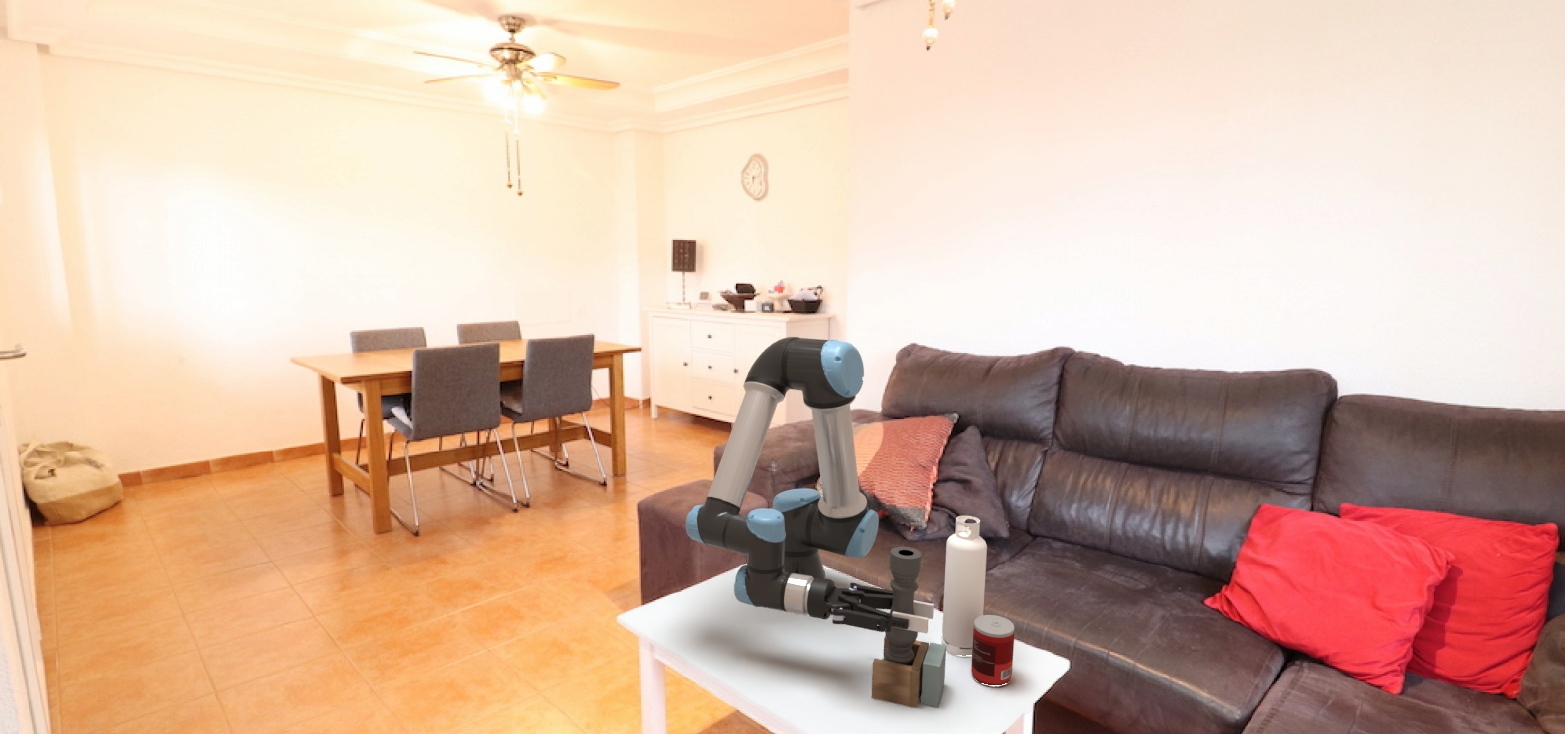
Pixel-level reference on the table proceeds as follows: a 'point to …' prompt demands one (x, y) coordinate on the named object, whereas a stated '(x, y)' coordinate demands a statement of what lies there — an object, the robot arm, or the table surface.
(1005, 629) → the canned food
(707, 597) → the table surface
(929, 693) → the block
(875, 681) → the cradle
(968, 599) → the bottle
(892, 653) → the candle holder
